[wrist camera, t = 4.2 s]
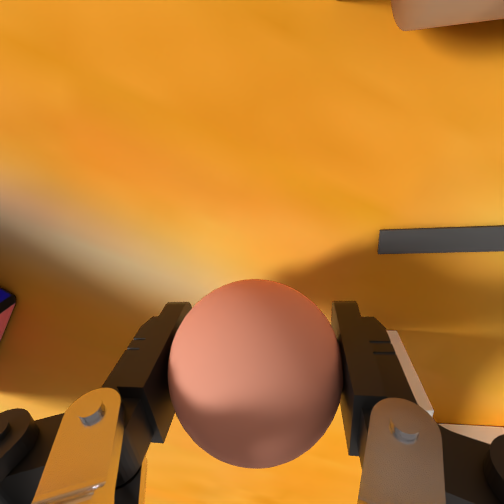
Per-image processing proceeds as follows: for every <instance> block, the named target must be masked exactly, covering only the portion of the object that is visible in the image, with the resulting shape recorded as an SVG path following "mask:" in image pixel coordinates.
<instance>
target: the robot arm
mask: <svg viewBox="0 0 504 504" xmlns="http://www.w3.org/2000/svg"><path fill="white" fill-rule="evenodd" d="M191 309H192V307H191V304H190V303H189V302H168V303H167V304H166V305H165V307H164V308H163V310H162V312H161V313H160V315H159V317H152V318H151V319H150V320H148V321H147V322H146V323H145V324H144V325H142V326H141V328H140V329H139V331H138V332H137V334H136V335H135V337H134V340H132V341H131V343H130V344H129V346H128V347H127V350H125V352H124V354H123V355H122V357H121V358H120V360H119V361H118V363H117V364H116V366H115V367H114V369H113V370H112V372H111V373H110V375H109V377H108V378H107V380H106V381H105V383H104V384H103V386H102V387H101V388H99V389H95V390H92V391H90V392H88V393H86V394H84V395H83V396H81V397H80V398H78V399H77V400H76V401H75V402H74V403H73V404H72V405H71V406H70V407H69V408H68V409H67V411H66V412H65V413H63V414H59V415H55V416H51V417H47V418H43V419H39V420H36V421H34V420H33V418H32V417H31V415H30V414H29V412H28V411H27V410H25V409H19V408H17V409H11V410H7V411H4V412H2V413H0V504H144V503H145V489H146V475H147V458H146V456H145V455H146V452H147V450H148V447H149V445H150V442H153V443H164V441H165V438H166V436H167V433H168V430H169V427H170V425H171V422H172V419H173V416H174V414H175V410H174V407H173V404H172V401H171V397H170V393H169V386H168V361H169V355H170V350H171V346H172V343H173V340H174V337H175V335H176V332H177V330H178V328H179V326H180V325H181V323H182V321H183V320H184V318H185V316H186V315H187V314H188V313H189V311H190V310H191ZM331 326H332V328H333V330H334V332H335V335H336V337H337V340H338V343H339V346H340V349H341V356H342V365H343V389H342V394H341V399H340V406H341V412H342V418H343V424H344V430H345V436H346V442H347V448H348V454H349V455H350V456H359V457H360V462H361V467H362V476H361V482H360V489H359V496H358V502H357V504H504V434H503V435H499V436H498V437H496V438H495V439H494V440H493V441H492V443H491V444H488V443H485V442H482V441H479V440H476V439H473V438H470V437H467V436H464V435H461V434H458V433H455V432H452V431H450V430H448V429H446V428H444V427H442V426H441V425H439V424H437V423H436V422H435V420H434V419H433V417H432V416H431V415H430V414H429V413H428V412H427V411H425V410H424V409H423V408H422V407H420V406H419V405H418V403H417V401H416V399H415V397H414V395H413V392H412V390H411V388H410V385H409V383H408V381H407V378H406V376H405V373H404V371H403V369H402V366H401V364H400V362H399V359H398V357H397V355H396V353H395V350H394V347H393V345H392V344H391V340H390V338H389V335H388V333H387V331H386V328H385V327H384V326H383V325H382V324H381V323H380V322H379V321H378V320H377V319H376V318H375V317H361V315H360V312H359V309H358V305H357V303H356V301H333V302H332V317H331Z"/></svg>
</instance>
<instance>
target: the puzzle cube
mask: <svg viewBox="0 0 504 504" xmlns="http://www.w3.org/2000/svg"><path fill="white" fill-rule="evenodd" d="M15 303H16V299H15V295H13V294H11V293H9V292H8V291H6V290H4V289H2V288H1V287H0V340H1V338H2V335H3V333H4V331H5V328H6V326H7V323H8V321H9V318H10V316H11V313H12V311H13V308H14V306H15Z"/></svg>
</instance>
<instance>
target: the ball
mask: <svg viewBox="0 0 504 504" xmlns="http://www.w3.org/2000/svg"><path fill="white" fill-rule="evenodd" d="M168 386H169V393H170V397H171V401H172V404H173V407H174V410H175V413H176V415H177V417H178V419H179V421H180V423H181V424H182V426H183V428H184V429H185V431H186V432H187V433H188V434H189V436H190V437H191V438H192V439H193V441H194V442H195V443H196V444H197V445H198V446H199V447H201V448H202V449H203V450H205V451H206V452H207V453H209V454H210V455H211V456H213V457H215V458H216V459H218V460H220V461H223V462H225V463H228V464H231V465H235V466H239V467H244V468H269V467H274V466H278V465H281V464H284V463H287V462H289V461H291V460H294V459H295V458H297V457H299V456H300V455H302V454H303V453H305V452H306V451H308V450H309V449H310V448H311V447H312V446H313V445H314V444H315V443H316V442H317V441H318V440H319V439H320V438H321V437H322V436H323V435H324V433H325V432H326V430H327V428H328V427H329V425H330V424H331V422H332V420H333V418H334V416H335V414H336V411H337V409H338V406H339V403H340V399H341V394H342V389H343V365H342V356H341V349H340V346H339V343H338V340H337V337H336V335H335V332H334V330H333V328H332V326H331V325H330V323H329V321H328V320H327V318H326V317H325V315H324V314H323V313H322V312H321V311H320V309H319V308H318V307H317V306H316V305H315V304H314V303H313V302H312V301H311V300H310V299H308V298H307V297H306V296H304V295H303V294H301V293H300V292H299V291H297V290H295V289H293V288H291V287H289V286H287V285H284V284H281V283H278V282H274V281H269V280H259V279H250V280H241V281H236V282H233V283H230V284H227V285H224V286H222V287H220V288H218V289H215V290H214V291H212V292H211V293H209V294H208V295H206V296H205V297H203V298H202V299H201V300H200V301H199V302H198V303H197V304H195V306H194V307H193V308H192V309H191V310H190V311H189V313H188V314H187V315H186V316H185V318H184V320H183V321H182V323H181V325H180V326H179V328H178V330H177V332H176V335H175V337H174V340H173V343H172V346H171V350H170V355H169V361H168Z"/></svg>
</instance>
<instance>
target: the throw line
mask: <svg viewBox="0 0 504 504" xmlns="http://www.w3.org/2000/svg"><path fill="white" fill-rule="evenodd" d="M490 251H504V226H475V227H447V228H418V229H389V230H380V234H379V244H378V254H405V253H448V252H490Z"/></svg>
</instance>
